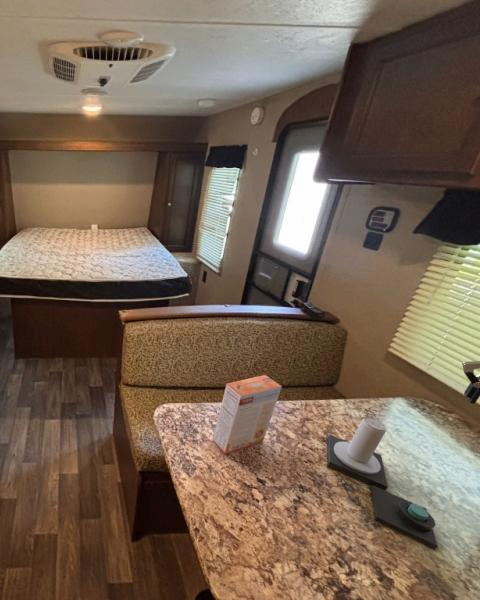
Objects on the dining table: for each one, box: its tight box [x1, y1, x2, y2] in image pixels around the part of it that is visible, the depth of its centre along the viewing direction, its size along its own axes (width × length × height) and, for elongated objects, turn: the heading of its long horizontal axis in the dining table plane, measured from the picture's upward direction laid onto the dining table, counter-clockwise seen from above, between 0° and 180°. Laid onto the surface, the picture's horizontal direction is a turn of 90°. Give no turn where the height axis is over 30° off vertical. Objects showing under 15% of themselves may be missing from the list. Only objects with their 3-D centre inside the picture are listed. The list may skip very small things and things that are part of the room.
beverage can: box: [347, 416, 388, 463], centre depth 84 cm, size 5×5×12 cm
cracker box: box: [212, 374, 283, 455], centre depth 89 cm, size 14×6×21 cm, turn 108°
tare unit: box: [369, 485, 438, 550], centre depth 74 cm, size 10×10×3 cm
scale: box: [326, 434, 389, 491], centre depth 87 cm, size 12×12×3 cm
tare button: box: [407, 503, 429, 521], centre depth 72 cm, size 3×3×2 cm
